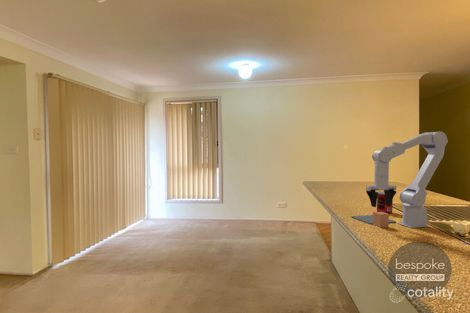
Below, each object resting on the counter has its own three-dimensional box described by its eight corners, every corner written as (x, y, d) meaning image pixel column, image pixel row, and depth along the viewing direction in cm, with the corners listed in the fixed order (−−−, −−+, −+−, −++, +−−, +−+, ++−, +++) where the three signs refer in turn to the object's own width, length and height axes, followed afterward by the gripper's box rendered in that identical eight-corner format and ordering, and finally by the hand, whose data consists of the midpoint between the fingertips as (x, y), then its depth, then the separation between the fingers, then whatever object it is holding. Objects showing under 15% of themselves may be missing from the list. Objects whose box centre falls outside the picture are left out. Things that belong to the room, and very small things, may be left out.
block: (381, 224, 137) (381, 211, 137) (388, 227, 133) (388, 213, 133) (372, 225, 136) (373, 212, 136) (379, 227, 132) (380, 214, 132)
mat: (375, 215, 154) (375, 214, 154) (395, 222, 141) (395, 221, 141) (351, 217, 151) (351, 216, 151) (370, 224, 137) (370, 223, 137)
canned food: (393, 211, 164) (393, 192, 164) (391, 214, 158) (392, 194, 157) (377, 210, 168) (378, 190, 168) (375, 212, 162) (376, 192, 161)
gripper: (388, 175, 140) (387, 203, 140) (361, 175, 136) (361, 205, 136) (400, 176, 133) (399, 206, 133) (372, 177, 129) (371, 208, 130)
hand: (380, 206), depth 134 cm, fingers open, 7 cm apart
